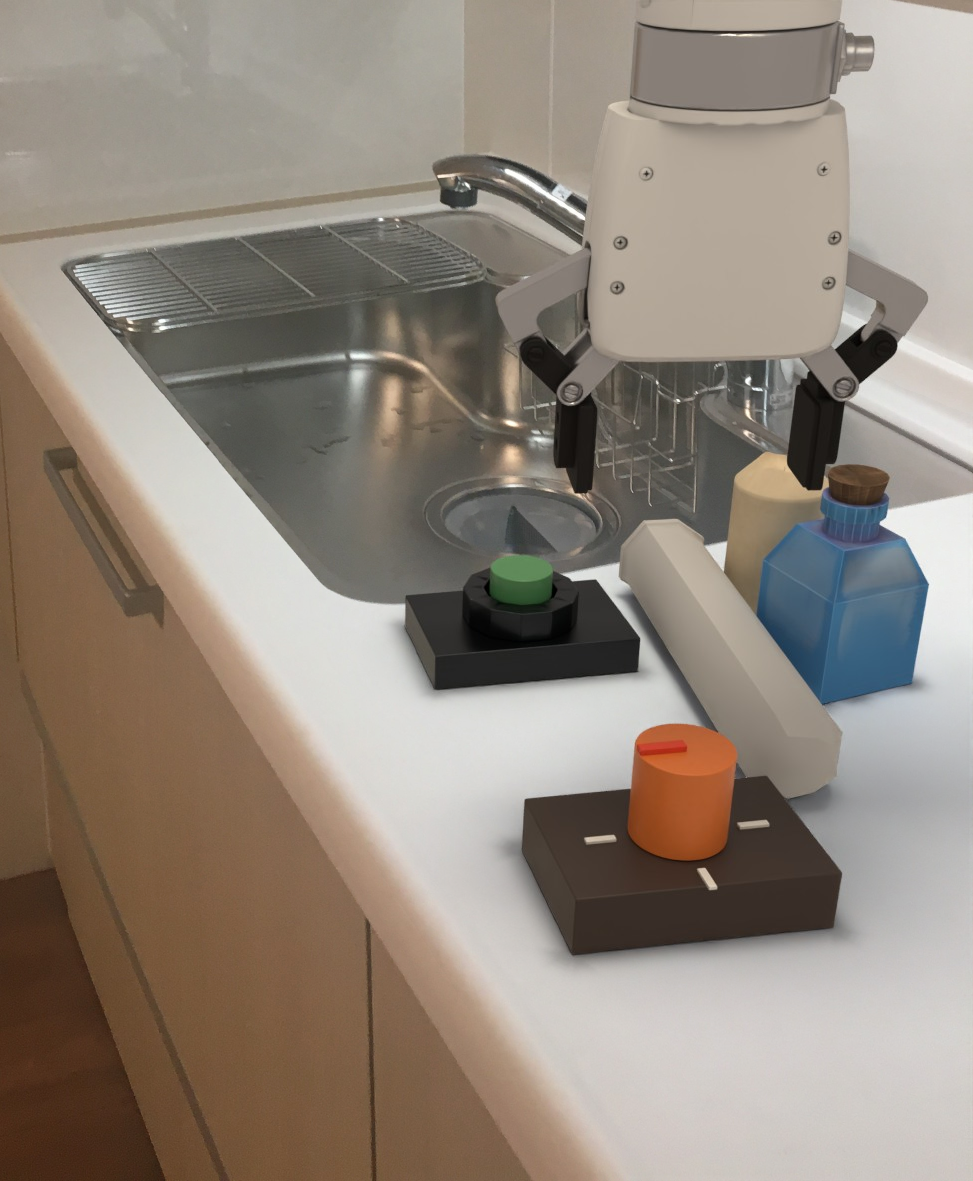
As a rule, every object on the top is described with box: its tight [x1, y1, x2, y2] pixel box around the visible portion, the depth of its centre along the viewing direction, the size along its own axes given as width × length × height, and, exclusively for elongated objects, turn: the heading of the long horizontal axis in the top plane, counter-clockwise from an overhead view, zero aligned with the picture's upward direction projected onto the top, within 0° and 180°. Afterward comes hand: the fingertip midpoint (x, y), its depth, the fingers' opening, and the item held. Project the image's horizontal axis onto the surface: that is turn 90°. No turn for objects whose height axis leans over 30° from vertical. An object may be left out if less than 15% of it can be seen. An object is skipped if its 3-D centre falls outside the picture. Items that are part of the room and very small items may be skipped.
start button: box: [489, 554, 554, 605], centre depth 94 cm, size 4×4×2 cm
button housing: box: [404, 567, 641, 690], centre depth 95 cm, size 12×8×4 cm, turn 96°
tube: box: [618, 518, 843, 800], centre depth 90 cm, size 5×5×25 cm
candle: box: [723, 451, 829, 615], centre depth 97 cm, size 6×6×10 cm
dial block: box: [521, 776, 843, 955], centre depth 74 cm, size 12×9×3 cm
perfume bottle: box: [756, 463, 930, 705], centre depth 90 cm, size 6×6×12 cm
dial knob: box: [628, 723, 737, 861], centre depth 73 cm, size 4×4×5 cm
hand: (690, 480), depth 70 cm, fingers open, 9 cm apart
